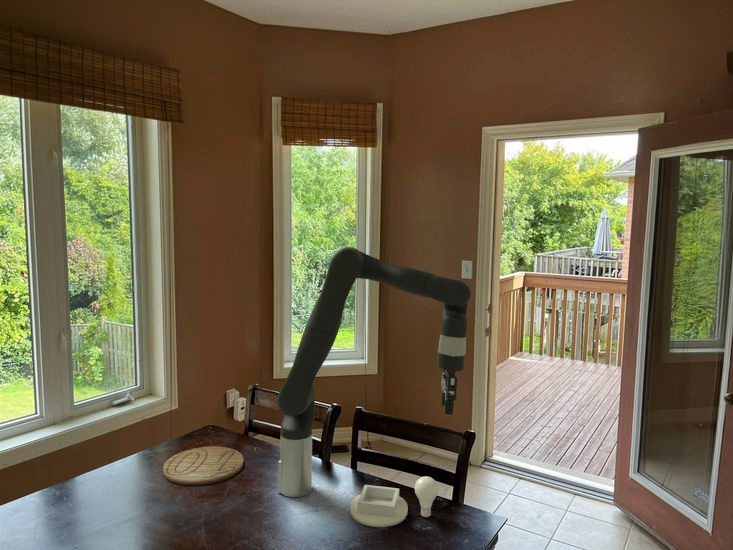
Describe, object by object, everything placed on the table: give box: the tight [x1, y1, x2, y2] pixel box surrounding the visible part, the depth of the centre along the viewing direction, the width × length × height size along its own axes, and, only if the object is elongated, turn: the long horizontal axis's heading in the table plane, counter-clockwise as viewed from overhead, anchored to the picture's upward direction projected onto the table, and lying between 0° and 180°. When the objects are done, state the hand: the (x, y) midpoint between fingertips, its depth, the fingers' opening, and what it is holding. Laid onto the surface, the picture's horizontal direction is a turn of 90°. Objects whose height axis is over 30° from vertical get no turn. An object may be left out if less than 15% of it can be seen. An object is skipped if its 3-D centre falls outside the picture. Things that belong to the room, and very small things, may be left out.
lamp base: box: [349, 484, 409, 528], centre depth 145 cm, size 16×16×4 cm
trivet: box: [162, 446, 245, 486], centre depth 170 cm, size 25×25×2 cm
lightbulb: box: [414, 475, 439, 518], centre depth 142 cm, size 6×6×11 cm
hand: (446, 409), depth 146 cm, fingers open, 8 cm apart
